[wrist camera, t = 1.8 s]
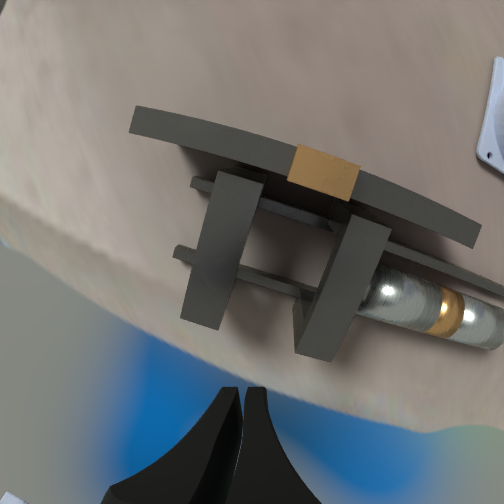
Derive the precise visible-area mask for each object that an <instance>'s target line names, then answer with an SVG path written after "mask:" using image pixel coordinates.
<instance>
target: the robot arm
mask: <svg viewBox="0 0 504 504" xmlns="http://www.w3.org/2000/svg"><path fill="white" fill-rule="evenodd" d="M476 153H477V156H478V158H479V159H481V160H482V161H484V162H485V163H487V164H488V165H490V166H492V167H493V168H495V169H496V170H498V171H499V172H501V173H502V174H504V58H502V57H496V58H495V60H494V66H493V73H492V80H491V86H490V91H489V97H488V102H487V107H486V112H485V116H484V121H483V125H482V129H481V134H480V138H479V142H478V145H477V150H476ZM487 153H489V155H490V157H489V159H488V158H487ZM242 429H243V437H242ZM241 440H242V444H241ZM240 445H241V449H240ZM239 449H240V454H239ZM238 454H239V458H238ZM237 459H238V462H237ZM236 463H237V466H236ZM235 467H236V470H235ZM234 471H235V474H234ZM233 476H234V477H233ZM0 504H28V503H27V502H25V501H24V500H22V499H20V498H19V497H17V496H15V495H13V494H11V493H10V492H6V493H5V495H4V496H3V498H2V499H1V501H0ZM101 504H322V503H321V502H320V501H319V500H318V499H317V498H316V497H315V496H314V495H313V493H312V492H311V491H310V490H309V489H308V487H307V486H306V485H305V483H304V482H303V481H302V480H301V478H300V476H299V475H298V474H297V472H296V471H295V469H294V468H293V466H292V465H291V463H290V461H289V459H288V458H287V456H286V454H285V452H284V450H283V448H282V446H281V444H280V442H279V440H278V437H277V435H276V432H275V430H274V427H273V425H272V421H271V418H270V415H269V411H268V402H267V391H266V388H265V387H248V389H247V392H246V396H245V405H244V422H243V416H242V410H241V404H240V398H239V392H238V387H222V388H221V389H220V391H219V393H218V394H217V396H216V397H215V399H214V400H213V402H212V403H211V405H210V406H209V407H208V409H207V410H206V411H205V413H204V414H203V415H202V417H201V418H200V419H199V420H198V422H197V423H196V424H195V425H194V426H193V427H192V429H191V430H190V431H189V432H188V433H187V434H186V435H185V436H184V437H183V438H182V439H181V440H180V441H179V442H178V443H177V444H176V445H175V446H174V447H173V448H172V449H171V450H169V451H168V452H167V453H166V454H164V455H163V456H162V457H161V458H159V459H158V460H157V461H155V462H154V463H153V464H151V465H150V466H148V467H146V468H145V469H143V470H142V471H140V472H138V473H137V474H135V475H133V476H131V477H129V478H127V479H125V480H123V481H121V482H119V483H116V484H114V485H112V486H110V487H109V489H108V491H107V492H106V494H105V496H104V498H103V500H102V502H101Z"/></svg>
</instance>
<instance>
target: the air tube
mask: <svg viewBox="0 0 504 504" xmlns="http://www.w3.org/2000/svg"><path fill="white" fill-rule="evenodd" d="M355 314H357V315H361V316H364V317H368V318H371V319H375V320H378V321H382V322H386V323H389V324H393V325H396V326H400V327H404V328H407V329H411V330H414V331H418V332H422V333H426V334H429V335H433V336H437V337H441V338H444V339H448V340H452V341H456V342H460V343H463V344H467V345H471V346H475V347H479V348H483V349H487V350H494V349H496V348H498V347H499V346H500V345H501V344H502V343H503V342H504V309H503V308H500V307H498V306H495V305H492V304H490V303H487V302H484V301H482V300H479V299H476V298H474V297H471V296H468V295H466V294H463V293H460V292H458V291H455V290H452V289H449V288H447V287H444V286H441V285H438V284H436V283H433V282H430V281H427V280H424V279H422V278H419V277H416V276H413V275H410V274H408V273H405V272H402V271H399V270H396V269H393V268H391V267H388V266H385V265H382V264H379V263H378V265H377V267H376V269H375V272H374V274H373V276H372V278H371V281H370V283H369V285H368V287H367V290H366V292H365V294H364V296H363V298H362V301H361V303H360V305H359V307H358V309H357V311H356V313H355Z"/></svg>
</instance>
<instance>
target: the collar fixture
mask: <svg viewBox="0 0 504 504" xmlns="http://www.w3.org/2000/svg"><path fill="white" fill-rule="evenodd" d="M129 133H132V134H136V135H141V136H145V137H149V138H154V139H158V140H162V141H166V142H170V143H174V144H178V145H182V146H186V147H190V148H194V149H197V150H201V151H205V152H208V153H212V154H216V155H219V156H223V157H226V158H230V159H233V160H237V161H240V162H243V163H247V164H250V165H253V166H257V167H260V168H263V169H266V170H270V171H273V172H276V173H279V174H282V175H285V176H287V181H290V182H293V183H296V184H299V185H302V186H305V187H308V188H311V189H314V190H317V191H320V192H323V193H326V194H329V195H331V196H334V197H337V198H340V199H343V200H345V201H348V202H349V199H350V198H352V199H354V200H357V201H360V202H362V203H365V204H368V205H370V206H373V207H375V208H378V209H381V210H383V211H386V212H388V213H391V214H393V215H396V216H398V217H401V218H403V219H405V220H408V221H410V222H413V223H415V224H417V225H420V226H422V227H425V228H427V229H429V230H432V231H434V232H436V233H438V234H441V235H443V236H445V237H447V238H450V239H452V240H454V241H456V242H459V243H461V244H463V245H465V246H467V247H469V248H472V249H473V247H474V245H475V242H476V240H477V237H478V234H479V232H480V229H481V226H482V225H481V224H479V223H477V222H475V221H473V220H471V219H469V218H467V217H465V216H463V215H461V214H459V213H457V212H455V211H453V210H451V209H449V208H447V207H445V206H443V205H441V204H439V203H437V202H435V201H432V200H430V199H428V198H426V197H424V196H422V195H419V194H417V193H415V192H413V191H410V190H408V189H406V188H404V187H401V186H399V185H397V184H394V183H392V182H389V181H387V180H385V179H382V178H380V177H377V176H375V175H372V174H370V173H367V172H365V171H362V170H360V167H361V166H359V165H356V164H353V163H351V162H348V161H345V160H343V159H340V158H337V157H335V156H332V155H329V154H326V153H324V152H321V151H318V150H315V149H312V148H309V147H306V146H303V145H300V144H298V145H297V147H296V146H292V145H289V144H286V143H283V142H280V141H277V140H274V139H270V138H267V137H264V136H260V135H257V134H253V133H250V132H247V131H243V130H239V129H236V128H232V127H228V126H225V125H221V124H217V123H213V122H209V121H205V120H201V119H197V118H193V117H189V116H184V115H180V114H175V113H171V112H166V111H162V110H157V109H152V108H147V107H142V106H136V107H135V111H134V115H133V118H132V122H131V126H130V130H129ZM267 177H268V175H264V174H261V173H258V172H255V171H251V170H248V169H245V168H241V167H238V166H235V165H234V166H231V167H228V168H225V169H221V170H218V172H217V176H216V179H215V181H213V180H209V179H206V178H202V177H199V176H193V177H192V180H191V184H190V187H192V188H195V189H199V190H202V191H205V192H209V193H211V197H210V201H209V204H208V208H207V212H206V215H205V219H204V223H203V227H202V230H201V234H200V238H199V242H198V246H197V250H194V249H191V248H188V247H185V246H182V245H178V246H177V247H175V249H174V254H173V258H176V259H179V260H183V261H186V262H189V263H192V264H193V266H192V270H191V274H190V278H189V282H188V286H187V290H186V294H185V299H184V303H183V307H182V312H181V316H180V318H182V319H184V320H187V321H190V322H193V323H196V324H199V325H202V326H205V327H208V328H212V329H215V330H219V327H220V324H221V321H222V318H223V315H224V312H225V309H226V306H227V304H228V301H229V298H230V295H231V292H232V289H233V286H234V282H235V279H236V278H238V279H242V280H245V281H248V282H251V283H254V284H257V285H261V286H264V287H267V288H270V289H274V290H277V291H280V292H283V293H287V294H290V295H293V296H297V298H296V300H295V303H294V305H293V308H292V310H293V328H294V347H295V353H297V354H300V355H304V356H308V357H312V358H316V359H320V360H324V361H328V362H331V361H332V359H333V357H334V355H335V353H336V351H337V349H338V347H339V345H340V343H341V342H342V340H343V338H344V336H345V334H346V332H347V330H348V328H349V326H350V324H351V322H352V319H353V317H354V315H355V313H356V311H357V309H358V307H359V305H360V303H361V301H362V298H363V296H364V294H365V292H366V290H367V287H368V285H369V283H370V281H371V278H372V276H373V274H374V272H375V269H376V267H377V265H378V262H379V260H380V257H381V255H382V253H383V250H385V251H388V252H390V253H393V254H396V255H399V256H401V257H404V258H407V259H409V260H412V261H415V262H417V263H420V264H423V265H425V266H428V267H431V268H433V269H436V270H439V271H441V272H444V273H446V274H449V275H451V276H454V277H456V278H459V279H462V280H464V281H467V282H469V283H472V284H474V285H477V286H479V287H481V288H484V289H486V290H489V291H491V292H494V293H496V294H499V295H501V296H503V297H504V286H502V285H500V284H498V283H495V282H493V281H491V280H489V279H486V278H484V277H482V276H479V275H477V274H475V273H472V272H470V271H468V270H465V269H463V268H460V267H458V266H456V265H453V264H451V263H448V262H446V261H443V260H441V259H439V258H436V257H434V256H431V255H429V254H426V253H424V252H421V251H418V250H416V249H413V248H411V247H408V246H406V245H403V244H400V243H398V242H395V241H392V240H390V239H388V238H389V235H390V233H391V230H392V229H391V228H390V227H388V226H387V225H386V224H384V223H383V222H382V221H380V220H379V219H378V218H376V217H375V216H374V215H372V214H371V213H370V212H368V211H367V210H366V209H364V208H361V207H358V206H355V205H353V204H350V203H347V202H345V201H342V200H339V199H336V198H334V199H333V202H332V205H331V208H330V210H329V213H328V216H327V217H326V216H323V215H320V214H317V213H314V212H311V211H308V210H305V209H302V208H299V207H296V206H293V205H290V204H287V203H284V202H281V201H278V200H275V199H272V198H268V197H265V196H262V193H263V190H264V186H265V183H266V180H267ZM257 207H258V208H261V209H264V210H267V211H270V212H273V213H277V214H280V215H283V216H286V217H289V218H292V219H295V220H298V221H301V222H304V223H307V224H310V225H313V226H316V227H319V228H322V229H325V230H328V231H331V232H334V234H335V235H336V237H337V240H336V243H335V246H334V248H333V251H332V253H331V256H330V258H329V261H328V264H327V266H326V269H325V271H324V274H323V276H322V278H321V281H320V283H319V286H318V288H315V287H312V286H309V285H305V284H302V283H299V282H296V281H293V280H289V279H286V278H283V277H280V276H276V275H273V274H270V273H267V272H264V271H260V270H257V269H254V268H251V267H248V266H245V265H241V264H239V263H240V259H241V256H242V253H243V250H244V246H245V243H246V240H247V237H248V234H249V230H250V227H251V224H252V221H253V218H254V214H255V211H256V209H257Z"/></svg>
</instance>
